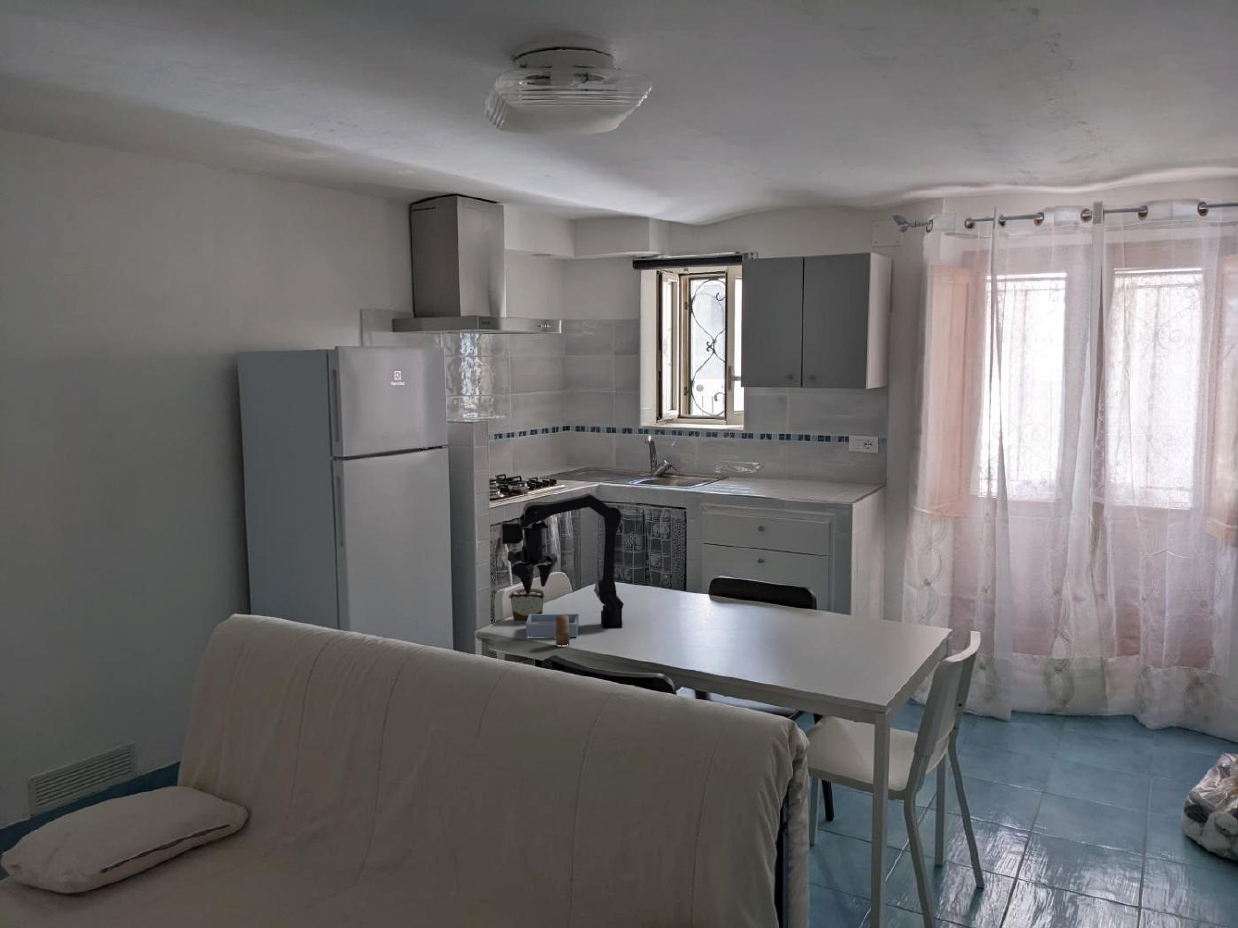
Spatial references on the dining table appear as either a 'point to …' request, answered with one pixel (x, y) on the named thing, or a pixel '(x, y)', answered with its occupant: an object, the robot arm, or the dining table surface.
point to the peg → (562, 630)
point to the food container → (526, 603)
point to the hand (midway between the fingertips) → (535, 589)
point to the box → (549, 625)
